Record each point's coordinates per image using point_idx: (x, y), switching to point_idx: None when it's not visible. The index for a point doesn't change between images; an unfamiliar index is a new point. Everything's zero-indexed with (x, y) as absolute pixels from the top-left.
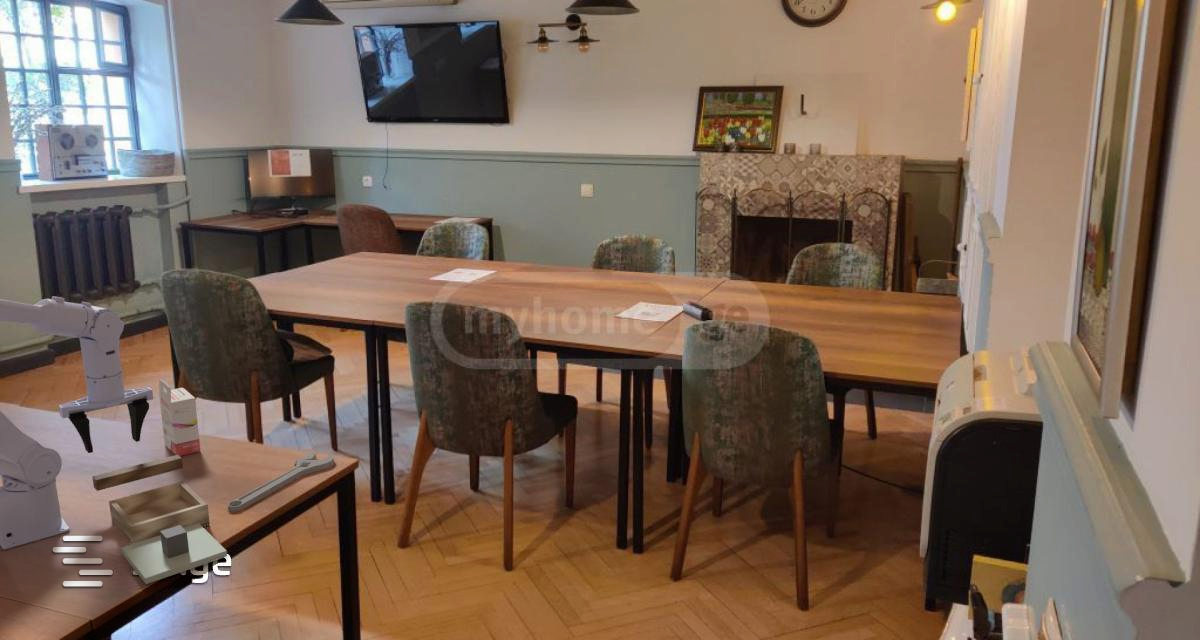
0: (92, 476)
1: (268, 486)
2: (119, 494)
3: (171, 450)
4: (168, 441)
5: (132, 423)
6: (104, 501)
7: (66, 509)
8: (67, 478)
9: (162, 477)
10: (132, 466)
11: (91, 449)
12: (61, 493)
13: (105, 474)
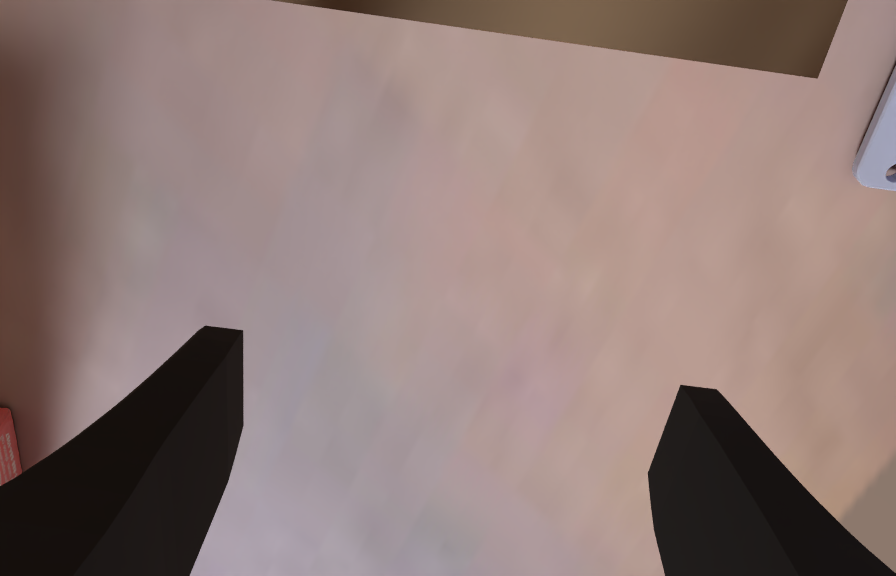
0: (816, 76)
1: None
2: (456, 182)
3: None
4: None
5: (175, 553)
6: (567, 153)
7: (767, 215)
8: (549, 537)
9: (158, 220)
10: (424, 10)
11: (705, 403)
12: (661, 416)
13: (715, 20)
